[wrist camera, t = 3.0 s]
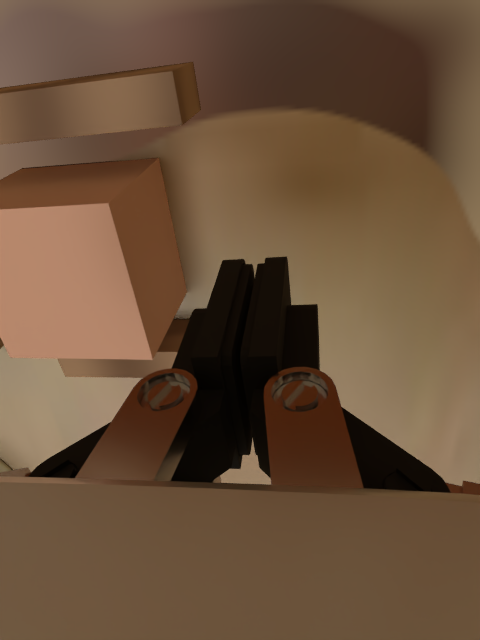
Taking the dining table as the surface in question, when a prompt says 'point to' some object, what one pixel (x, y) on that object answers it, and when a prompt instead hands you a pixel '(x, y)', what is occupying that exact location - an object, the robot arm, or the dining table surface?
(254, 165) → the dining table surface
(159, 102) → the channel
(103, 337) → the block
